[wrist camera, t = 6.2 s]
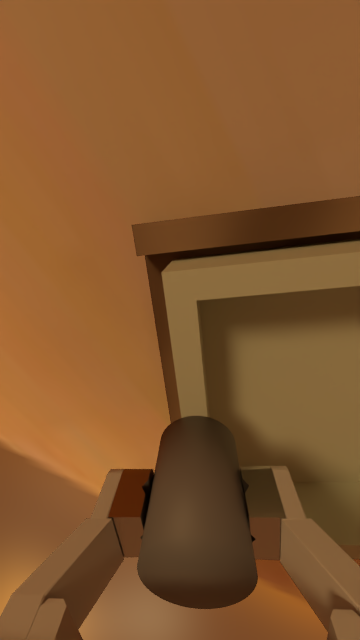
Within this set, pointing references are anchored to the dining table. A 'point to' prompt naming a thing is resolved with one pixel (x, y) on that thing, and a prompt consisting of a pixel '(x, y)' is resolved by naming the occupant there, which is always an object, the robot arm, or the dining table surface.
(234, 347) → the drawer
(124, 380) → the dining table surface
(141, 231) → the bay
